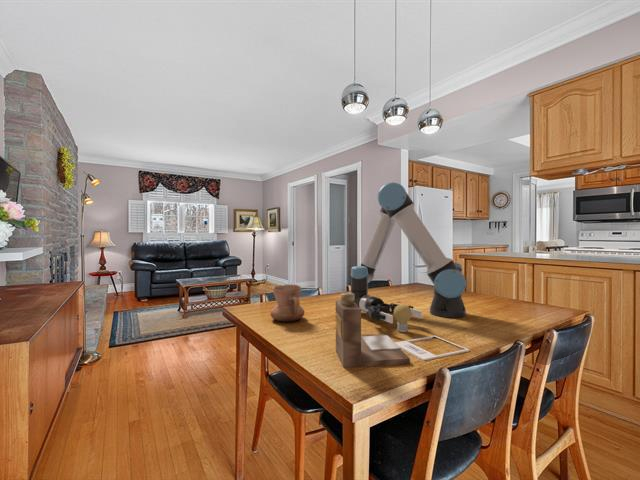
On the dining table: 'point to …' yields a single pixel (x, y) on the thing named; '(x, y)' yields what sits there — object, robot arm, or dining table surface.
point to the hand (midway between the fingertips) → (407, 317)
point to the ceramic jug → (287, 303)
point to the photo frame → (423, 353)
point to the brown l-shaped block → (362, 339)
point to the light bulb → (402, 317)
